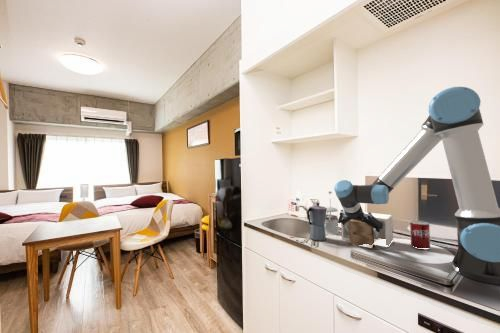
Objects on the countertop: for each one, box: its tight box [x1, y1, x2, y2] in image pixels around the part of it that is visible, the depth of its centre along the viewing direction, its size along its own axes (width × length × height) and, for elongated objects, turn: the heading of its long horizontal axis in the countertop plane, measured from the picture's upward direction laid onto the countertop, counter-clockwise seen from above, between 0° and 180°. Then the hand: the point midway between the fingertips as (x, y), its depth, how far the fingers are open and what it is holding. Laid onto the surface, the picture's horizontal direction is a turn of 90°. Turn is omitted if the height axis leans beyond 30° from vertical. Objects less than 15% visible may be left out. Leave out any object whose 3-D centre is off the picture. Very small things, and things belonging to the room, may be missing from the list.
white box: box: [340, 211, 394, 246], centre depth 114 cm, size 22×11×14 cm, turn 47°
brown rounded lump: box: [349, 219, 374, 247], centre depth 108 cm, size 10×5×12 cm, turn 47°
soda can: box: [409, 220, 431, 249], centre depth 102 cm, size 7×7×12 cm
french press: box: [324, 191, 341, 236], centre depth 132 cm, size 10×12×25 cm
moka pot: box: [306, 202, 327, 242], centre depth 120 cm, size 10×15×20 cm, turn 129°
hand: (362, 231), depth 110 cm, fingers open, 13 cm apart
